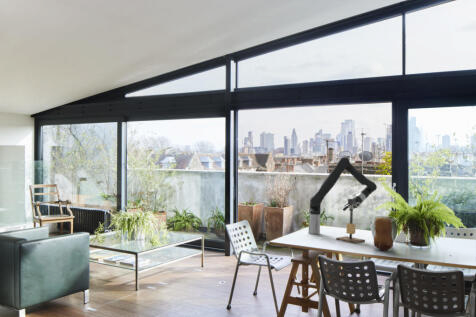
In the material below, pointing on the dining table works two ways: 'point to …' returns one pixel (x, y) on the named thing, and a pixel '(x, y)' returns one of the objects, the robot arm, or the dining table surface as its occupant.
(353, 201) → the stand
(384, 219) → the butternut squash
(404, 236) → the cable organizer
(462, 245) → the dining table surface
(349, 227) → the sleeve
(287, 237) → the dining table surface
